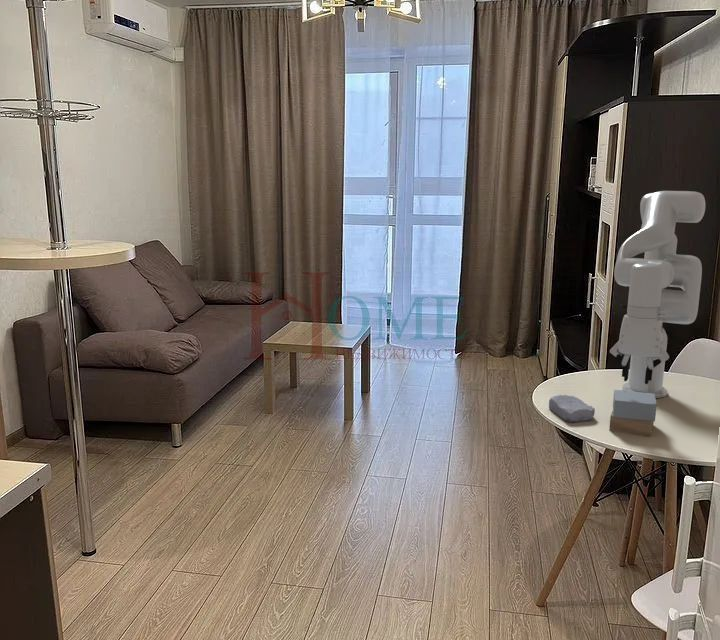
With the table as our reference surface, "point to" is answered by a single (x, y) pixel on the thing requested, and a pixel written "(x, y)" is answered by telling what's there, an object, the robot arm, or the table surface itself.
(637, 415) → the tower top
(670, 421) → the table surface
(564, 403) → the stone block
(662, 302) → the robot arm
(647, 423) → the tower base
